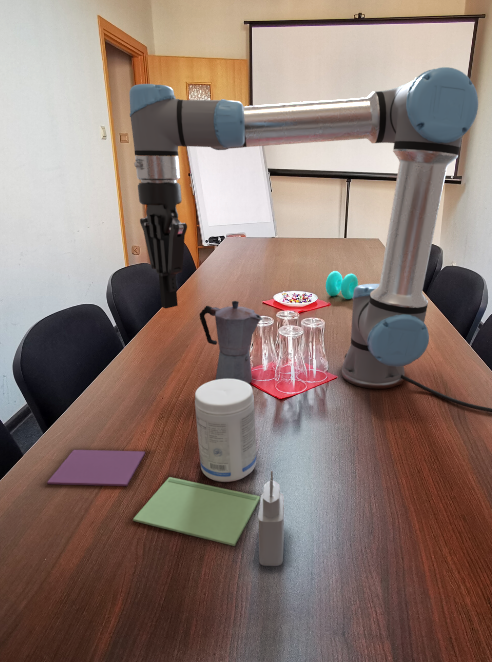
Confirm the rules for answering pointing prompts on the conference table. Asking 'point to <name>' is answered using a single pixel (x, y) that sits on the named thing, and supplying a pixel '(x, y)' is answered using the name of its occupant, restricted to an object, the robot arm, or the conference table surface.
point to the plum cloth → (98, 468)
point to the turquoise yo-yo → (341, 284)
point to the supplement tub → (226, 429)
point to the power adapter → (271, 524)
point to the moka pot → (232, 339)
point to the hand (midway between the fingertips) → (169, 306)
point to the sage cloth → (199, 510)
